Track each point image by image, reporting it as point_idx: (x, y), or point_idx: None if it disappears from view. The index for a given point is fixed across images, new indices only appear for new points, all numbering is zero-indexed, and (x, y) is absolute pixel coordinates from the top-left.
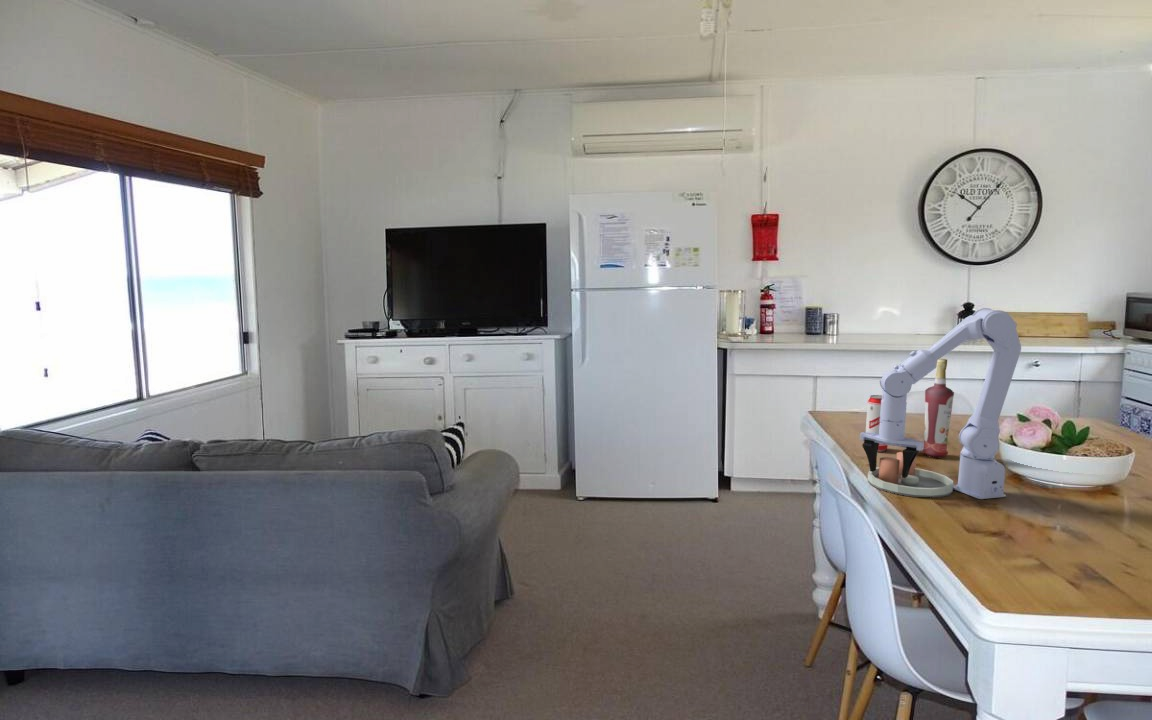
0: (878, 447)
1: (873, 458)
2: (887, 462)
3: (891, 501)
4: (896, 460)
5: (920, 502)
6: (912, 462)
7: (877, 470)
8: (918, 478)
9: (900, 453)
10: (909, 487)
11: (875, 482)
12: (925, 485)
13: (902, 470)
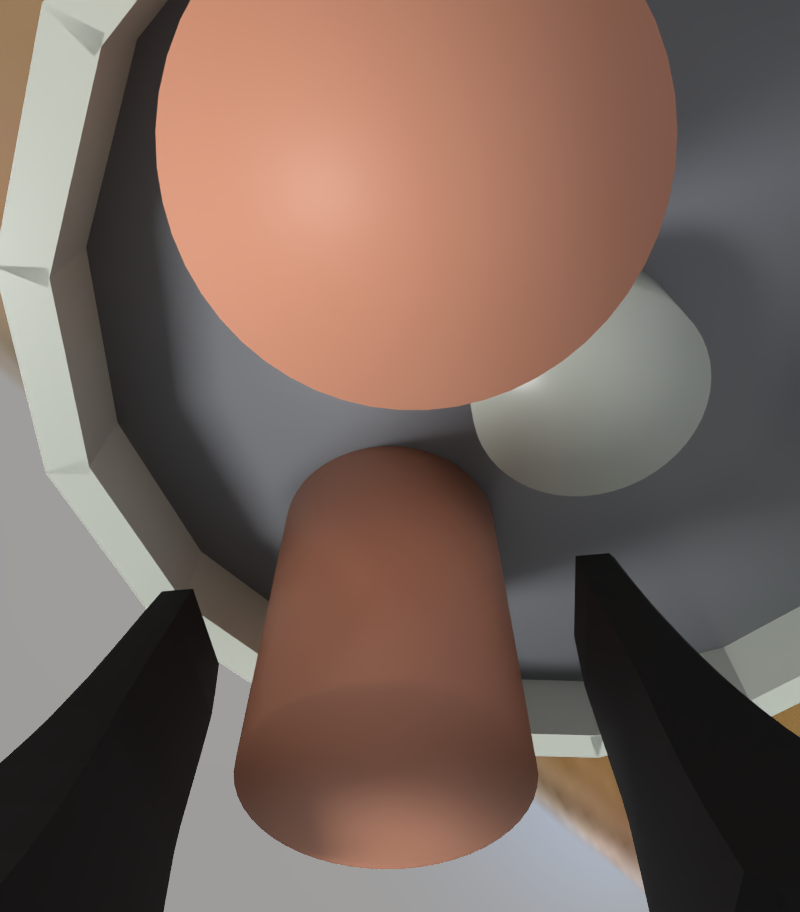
0: None
1: (161, 809)
2: (417, 854)
3: (595, 813)
4: (484, 761)
5: (789, 714)
6: (730, 686)
7: (73, 333)
8: (709, 376)
9: (270, 247)
10: None
11: None
12: (769, 293)
13: (600, 730)
